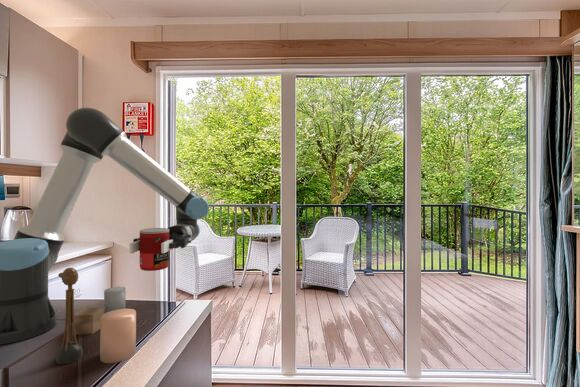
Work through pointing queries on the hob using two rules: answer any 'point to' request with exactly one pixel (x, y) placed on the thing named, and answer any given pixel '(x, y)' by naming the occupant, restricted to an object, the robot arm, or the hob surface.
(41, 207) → the robot arm
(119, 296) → the grey-white rounded cylinder
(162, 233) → the canned food
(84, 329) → the walnut block
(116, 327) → the peach cylinder
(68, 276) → the wooden tabletop sculpture
